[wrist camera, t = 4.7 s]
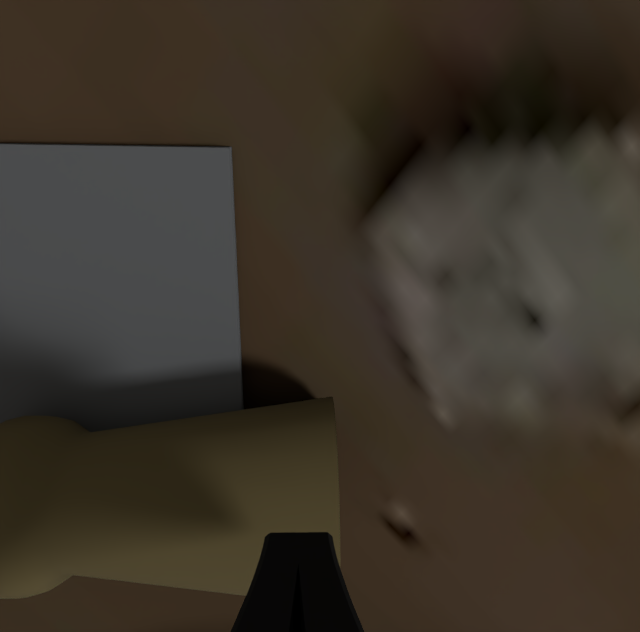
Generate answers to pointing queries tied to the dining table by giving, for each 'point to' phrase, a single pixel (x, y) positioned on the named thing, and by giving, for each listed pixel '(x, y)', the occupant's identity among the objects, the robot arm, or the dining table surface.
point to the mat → (118, 283)
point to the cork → (163, 496)
